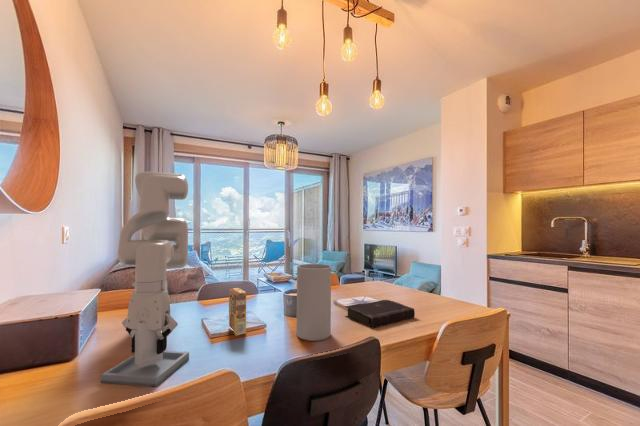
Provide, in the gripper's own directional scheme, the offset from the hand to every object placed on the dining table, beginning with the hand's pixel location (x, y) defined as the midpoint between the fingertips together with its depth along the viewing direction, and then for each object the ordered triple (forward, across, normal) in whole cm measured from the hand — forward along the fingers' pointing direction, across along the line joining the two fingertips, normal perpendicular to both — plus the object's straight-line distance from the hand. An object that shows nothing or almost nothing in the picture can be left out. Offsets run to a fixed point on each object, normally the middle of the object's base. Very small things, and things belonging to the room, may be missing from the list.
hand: (149, 350), depth 82 cm
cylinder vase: (+5, +42, +31) cm, 52 cm away
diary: (+6, +68, +55) cm, 88 cm away
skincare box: (+3, 0, 0) cm, 3 cm away
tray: (+5, 0, 0) cm, 5 cm away
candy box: (+5, +13, +31) cm, 34 cm away
